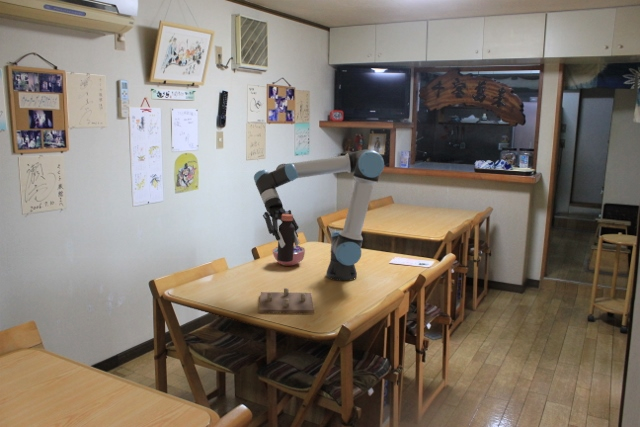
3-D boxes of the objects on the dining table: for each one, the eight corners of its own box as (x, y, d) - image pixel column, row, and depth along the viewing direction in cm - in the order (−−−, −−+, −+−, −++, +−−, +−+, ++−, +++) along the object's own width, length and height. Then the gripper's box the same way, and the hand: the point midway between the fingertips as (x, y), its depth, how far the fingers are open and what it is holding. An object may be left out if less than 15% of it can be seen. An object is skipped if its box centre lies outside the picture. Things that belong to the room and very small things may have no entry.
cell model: (312, 263, 292) (312, 243, 290) (290, 271, 275) (291, 249, 273) (286, 258, 301) (287, 238, 299) (264, 265, 284) (265, 244, 282)
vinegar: (286, 263, 229) (288, 217, 225) (274, 259, 233) (276, 214, 229) (295, 260, 235) (298, 215, 231) (283, 256, 238) (285, 212, 235)
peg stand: (310, 296, 237) (311, 286, 236) (313, 313, 215) (314, 302, 214) (260, 295, 235) (260, 285, 234) (258, 313, 213) (258, 302, 212)
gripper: (286, 204, 248) (305, 247, 238) (249, 207, 236) (267, 252, 226) (293, 195, 242) (313, 238, 233) (256, 197, 231) (274, 243, 221)
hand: (290, 245), depth 230 cm, fingers closed on vinegar, 7 cm apart
